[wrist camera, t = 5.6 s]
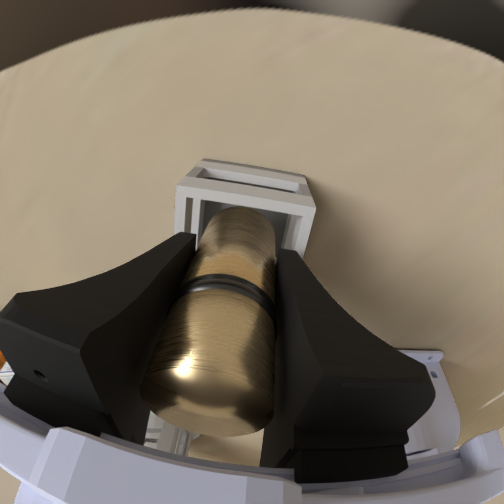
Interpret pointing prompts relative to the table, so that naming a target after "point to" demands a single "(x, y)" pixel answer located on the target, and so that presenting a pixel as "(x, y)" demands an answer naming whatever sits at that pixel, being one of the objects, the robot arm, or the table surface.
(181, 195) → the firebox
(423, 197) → the table surface
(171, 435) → the french press
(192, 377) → the gold domed cylinder
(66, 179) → the table surface
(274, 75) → the table surface
